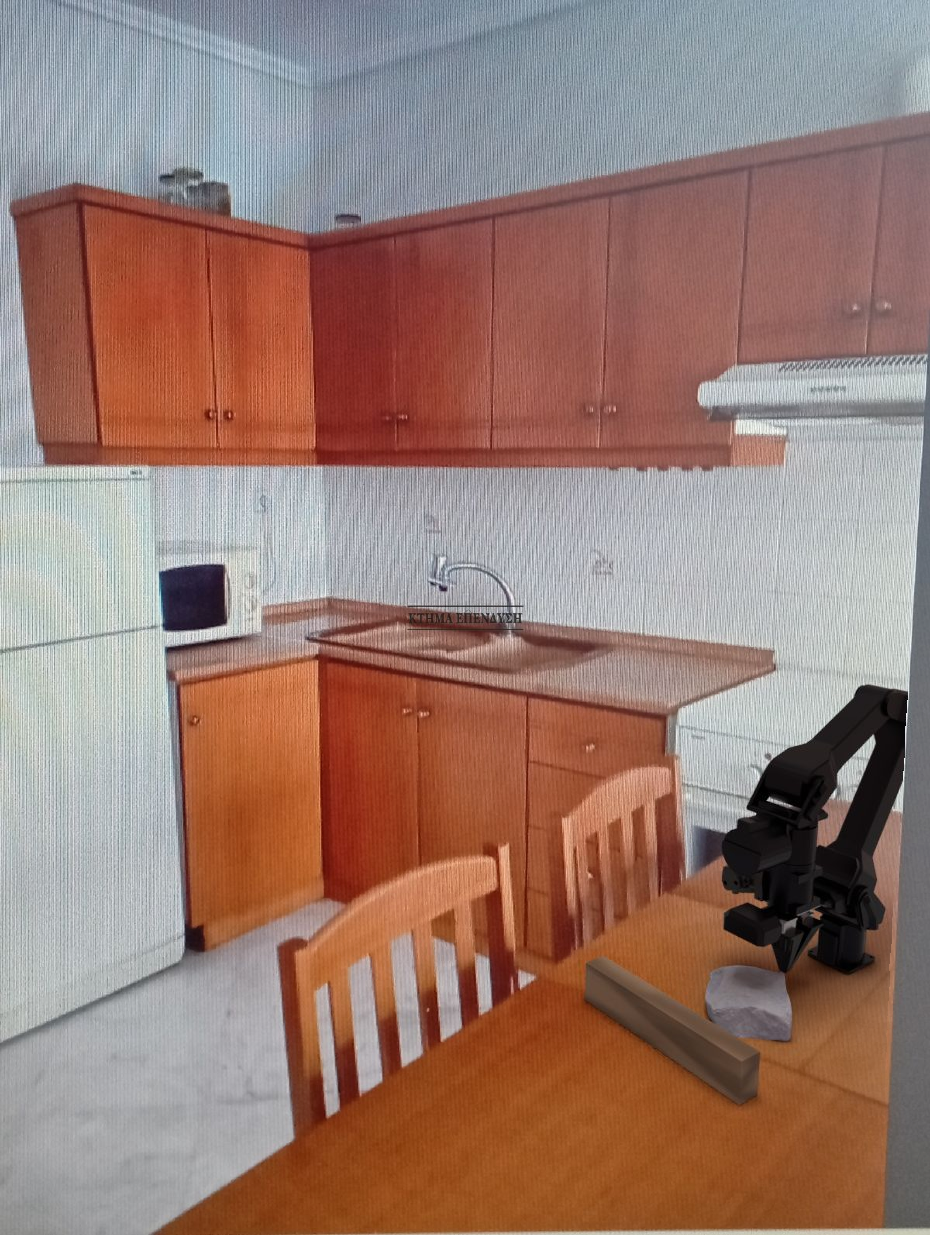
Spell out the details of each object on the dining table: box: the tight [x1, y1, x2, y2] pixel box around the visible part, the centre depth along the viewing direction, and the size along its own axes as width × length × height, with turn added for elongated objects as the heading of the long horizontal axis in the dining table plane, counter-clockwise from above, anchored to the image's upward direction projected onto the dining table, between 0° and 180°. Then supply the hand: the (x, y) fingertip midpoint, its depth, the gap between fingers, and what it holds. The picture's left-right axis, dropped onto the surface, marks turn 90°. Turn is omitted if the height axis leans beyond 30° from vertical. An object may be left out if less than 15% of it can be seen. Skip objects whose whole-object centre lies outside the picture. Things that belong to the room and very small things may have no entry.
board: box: [584, 955, 761, 1106], centre depth 109 cm, size 3×24×5 cm, turn 35°
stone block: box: [704, 964, 793, 1042], centre depth 116 cm, size 12×5×10 cm
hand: (784, 971), depth 122 cm, fingers closed
